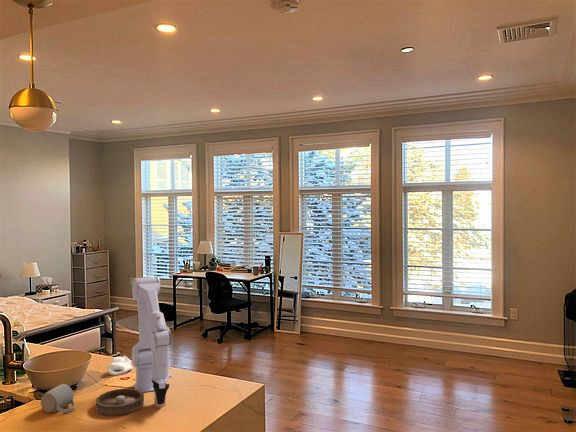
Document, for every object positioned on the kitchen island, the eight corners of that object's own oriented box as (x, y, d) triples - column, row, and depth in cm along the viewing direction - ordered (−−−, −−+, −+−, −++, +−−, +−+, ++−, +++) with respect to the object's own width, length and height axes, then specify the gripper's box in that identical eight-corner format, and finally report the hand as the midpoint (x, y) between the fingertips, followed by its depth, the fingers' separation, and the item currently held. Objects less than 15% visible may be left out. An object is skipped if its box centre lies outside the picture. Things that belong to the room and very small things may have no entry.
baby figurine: (107, 378, 187) (101, 360, 190) (119, 379, 198) (113, 362, 202) (126, 368, 188) (120, 350, 191) (137, 370, 199) (131, 353, 203)
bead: (153, 403, 162) (154, 389, 162) (165, 402, 164) (165, 388, 164) (154, 408, 158) (154, 394, 158) (166, 406, 160) (166, 392, 160)
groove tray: (96, 400, 164) (97, 391, 164) (142, 394, 170) (142, 386, 170) (95, 419, 150) (95, 409, 150) (144, 412, 155) (144, 402, 155)
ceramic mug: (38, 412, 154) (38, 390, 154) (57, 403, 162) (57, 382, 162) (62, 417, 151) (63, 395, 151) (80, 407, 159) (81, 386, 159)
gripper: (174, 368, 156) (173, 407, 156) (169, 356, 169) (169, 392, 169) (153, 371, 153) (152, 410, 153) (150, 358, 167) (149, 394, 167)
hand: (160, 401), depth 161 cm, fingers closed on bead, 4 cm apart
